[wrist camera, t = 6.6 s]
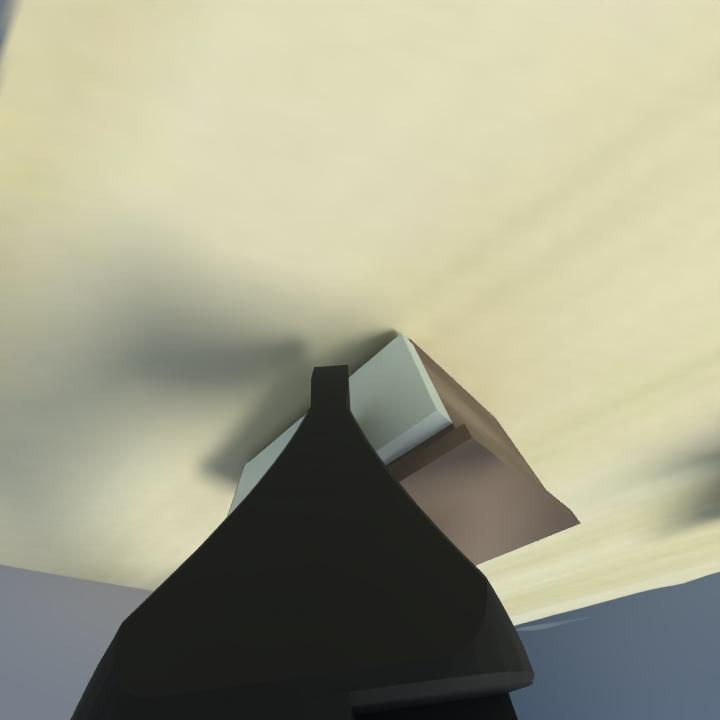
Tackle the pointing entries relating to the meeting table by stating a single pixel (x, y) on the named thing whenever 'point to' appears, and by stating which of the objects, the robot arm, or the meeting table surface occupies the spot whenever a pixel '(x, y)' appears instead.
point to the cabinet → (477, 480)
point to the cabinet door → (375, 411)
